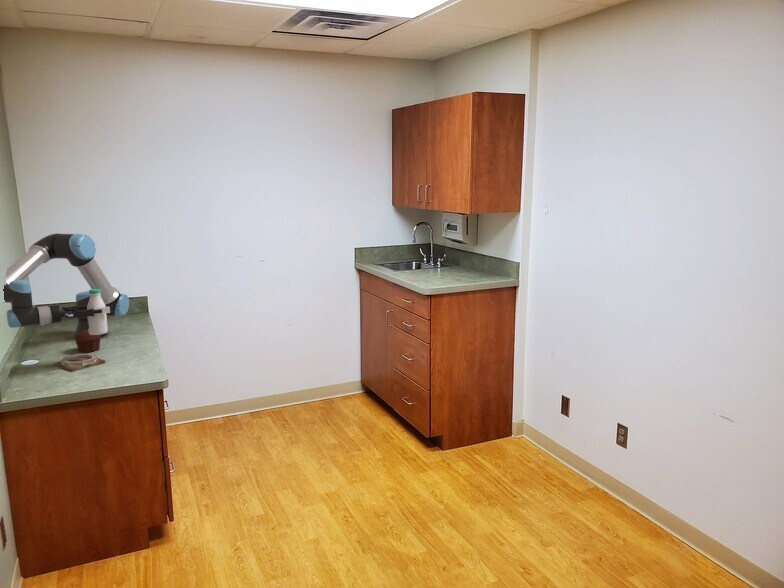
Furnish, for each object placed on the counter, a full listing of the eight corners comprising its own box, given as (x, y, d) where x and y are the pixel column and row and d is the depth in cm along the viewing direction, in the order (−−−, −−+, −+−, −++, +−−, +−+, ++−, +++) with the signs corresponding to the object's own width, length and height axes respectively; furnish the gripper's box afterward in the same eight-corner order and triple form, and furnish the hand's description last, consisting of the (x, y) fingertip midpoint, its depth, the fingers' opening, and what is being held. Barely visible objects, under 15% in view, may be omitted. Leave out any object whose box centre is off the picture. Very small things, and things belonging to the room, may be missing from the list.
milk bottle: (111, 332, 274) (108, 288, 271) (98, 336, 267) (95, 291, 263) (98, 330, 277) (94, 287, 273) (84, 334, 269) (80, 290, 266)
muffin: (103, 352, 289) (101, 331, 287) (77, 355, 284) (75, 334, 282) (100, 346, 299) (98, 326, 297) (75, 349, 294) (73, 329, 292)
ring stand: (86, 357, 281) (86, 351, 281) (105, 362, 273) (104, 356, 273) (53, 365, 269) (53, 359, 268) (72, 371, 261) (71, 365, 260)
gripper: (46, 318, 268) (102, 312, 281) (54, 328, 252) (113, 320, 265) (45, 302, 266) (101, 296, 280) (53, 310, 250) (112, 303, 264)
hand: (107, 308), depth 273 cm, fingers closed on milk bottle, 7 cm apart
